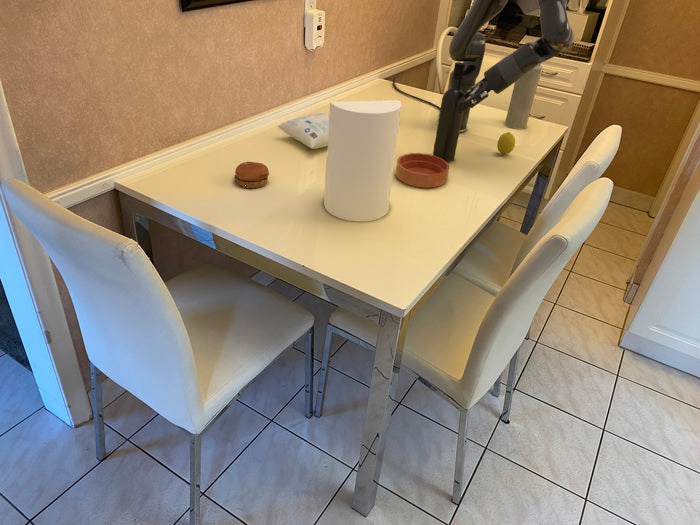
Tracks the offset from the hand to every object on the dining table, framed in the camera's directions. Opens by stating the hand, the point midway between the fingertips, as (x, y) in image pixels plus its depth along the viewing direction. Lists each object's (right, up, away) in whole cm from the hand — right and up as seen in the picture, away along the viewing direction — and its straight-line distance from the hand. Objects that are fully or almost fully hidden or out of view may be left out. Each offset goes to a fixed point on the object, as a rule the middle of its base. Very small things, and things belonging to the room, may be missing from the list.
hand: (457, 107), depth 159 cm
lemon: (+19, -11, +17) cm, 28 cm away
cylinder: (-31, -32, -19) cm, 49 cm away
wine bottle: (-3, -14, +10) cm, 18 cm away
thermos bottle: (+31, +5, +42) cm, 53 cm away
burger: (-60, -24, -12) cm, 66 cm away
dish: (-11, -22, -2) cm, 25 cm away
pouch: (-44, -7, +15) cm, 47 cm away
